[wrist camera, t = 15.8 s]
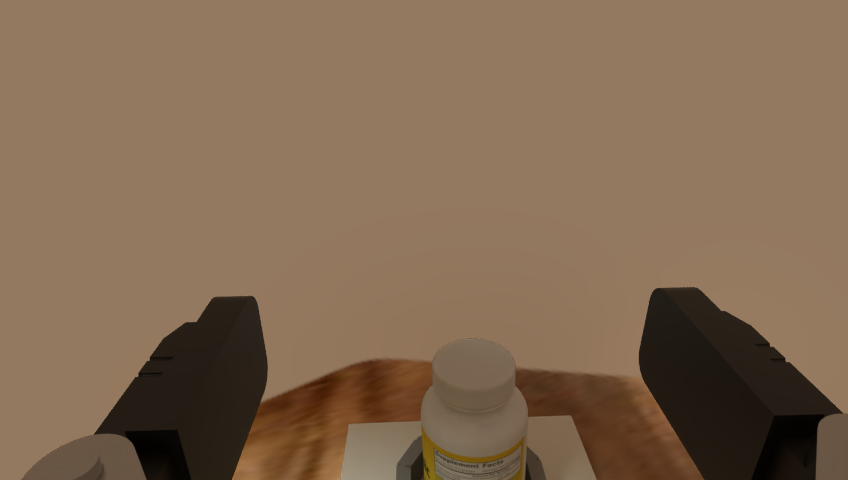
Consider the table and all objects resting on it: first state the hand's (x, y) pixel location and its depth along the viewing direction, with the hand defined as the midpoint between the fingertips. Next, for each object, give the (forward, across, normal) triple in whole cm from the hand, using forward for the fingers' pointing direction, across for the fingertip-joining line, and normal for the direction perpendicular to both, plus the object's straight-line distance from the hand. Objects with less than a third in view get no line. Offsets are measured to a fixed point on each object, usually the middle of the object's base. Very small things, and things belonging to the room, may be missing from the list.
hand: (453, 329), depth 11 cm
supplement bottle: (+11, -2, +20) cm, 23 cm away
